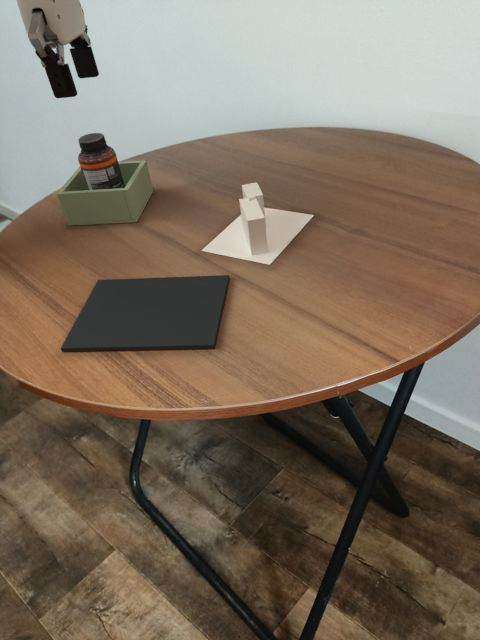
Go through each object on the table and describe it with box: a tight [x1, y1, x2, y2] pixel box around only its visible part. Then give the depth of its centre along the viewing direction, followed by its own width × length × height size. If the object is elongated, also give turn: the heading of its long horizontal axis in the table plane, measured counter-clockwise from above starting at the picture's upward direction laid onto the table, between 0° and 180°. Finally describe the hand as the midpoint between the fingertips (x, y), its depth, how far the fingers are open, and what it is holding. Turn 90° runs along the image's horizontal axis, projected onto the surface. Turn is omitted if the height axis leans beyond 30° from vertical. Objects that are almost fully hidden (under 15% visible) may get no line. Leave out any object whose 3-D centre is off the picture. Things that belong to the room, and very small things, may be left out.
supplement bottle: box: [77, 132, 125, 190], centre depth 84 cm, size 6×6×11 cm
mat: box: [60, 274, 231, 353], centre depth 64 cm, size 18×14×1 cm
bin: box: [56, 160, 154, 227], centre depth 87 cm, size 12×12×6 cm
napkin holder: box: [200, 182, 315, 266], centre depth 75 cm, size 15×11×6 cm
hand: (78, 86), depth 76 cm, fingers open, 9 cm apart
